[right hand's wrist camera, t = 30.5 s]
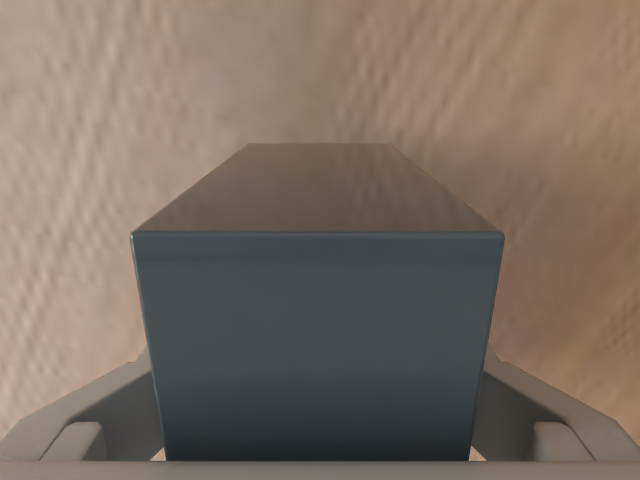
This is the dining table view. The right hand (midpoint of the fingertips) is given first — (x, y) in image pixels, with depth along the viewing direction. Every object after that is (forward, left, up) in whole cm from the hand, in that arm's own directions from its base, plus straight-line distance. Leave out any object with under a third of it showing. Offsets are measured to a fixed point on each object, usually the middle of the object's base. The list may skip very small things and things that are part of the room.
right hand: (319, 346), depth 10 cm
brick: (0, 0, -4) cm, 4 cm away
